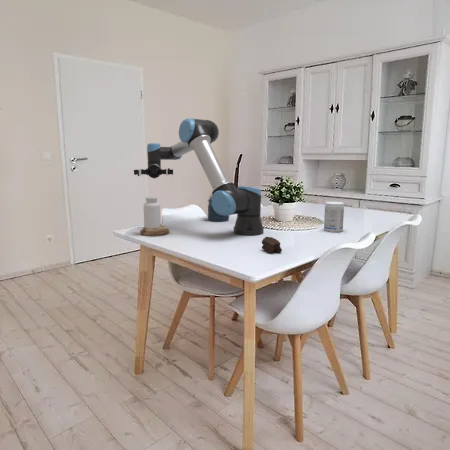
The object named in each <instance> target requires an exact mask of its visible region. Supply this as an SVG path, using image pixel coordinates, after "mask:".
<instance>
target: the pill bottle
mask: <svg viewBox="0 0 450 450" xmlns="http://www.w3.org/2000/svg"><path fill="white" fill-rule="evenodd" d="M145 201H146V202H145V203H144V204H143V227H145V228H147V229H157V228H160V225H161V223H162V222H161V205H160V203H159V202H158V197H157V196H147V197H145ZM161 226H162V225H161Z"/></svg>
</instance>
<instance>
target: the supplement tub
mask: <svg viewBox="0 0 450 450" xmlns="http://www.w3.org/2000/svg"><path fill="white" fill-rule="evenodd" d="M324 204H325V205H324V216H323V217H324V219H323V220H324V221H323V230H324V231H326V232H331V233H340V232H343V230H344V219H345V217H344V216H345V215H344V214H345V203H344V202H343V201H326V202H325V203H324Z"/></svg>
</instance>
